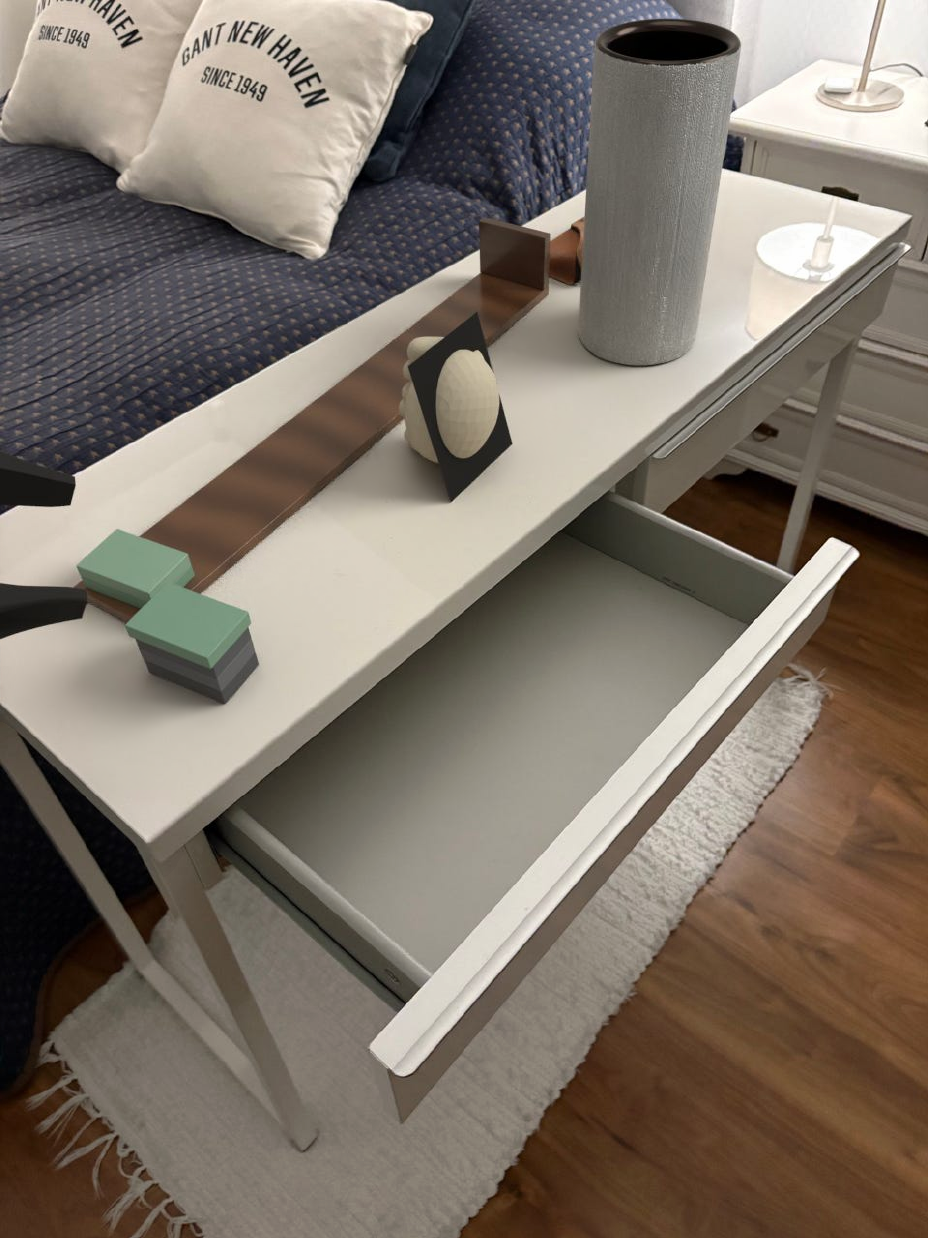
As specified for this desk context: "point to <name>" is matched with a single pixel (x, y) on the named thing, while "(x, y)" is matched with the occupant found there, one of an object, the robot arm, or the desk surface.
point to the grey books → (205, 668)
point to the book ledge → (340, 420)
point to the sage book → (188, 624)
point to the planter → (653, 184)
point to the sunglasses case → (567, 254)
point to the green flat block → (133, 568)
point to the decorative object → (454, 404)
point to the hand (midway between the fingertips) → (78, 545)
